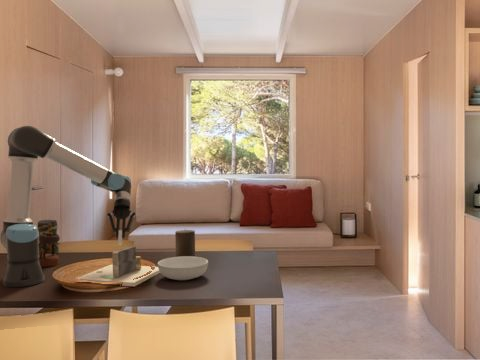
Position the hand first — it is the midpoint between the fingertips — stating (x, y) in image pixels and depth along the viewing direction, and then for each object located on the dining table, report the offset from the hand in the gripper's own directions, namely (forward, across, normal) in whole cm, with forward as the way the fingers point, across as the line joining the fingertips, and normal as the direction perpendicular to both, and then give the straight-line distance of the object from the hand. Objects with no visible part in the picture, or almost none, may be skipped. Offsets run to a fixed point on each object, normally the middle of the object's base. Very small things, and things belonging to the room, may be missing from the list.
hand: (119, 243), depth 201 cm
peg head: (+15, -4, 0) cm, 15 cm away
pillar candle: (-5, -30, -22) cm, 38 cm away
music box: (-8, +35, -26) cm, 45 cm away
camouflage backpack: (-26, +41, -44) cm, 66 cm away
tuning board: (+15, -1, -3) cm, 15 cm away
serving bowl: (+21, -27, +4) cm, 34 cm away
